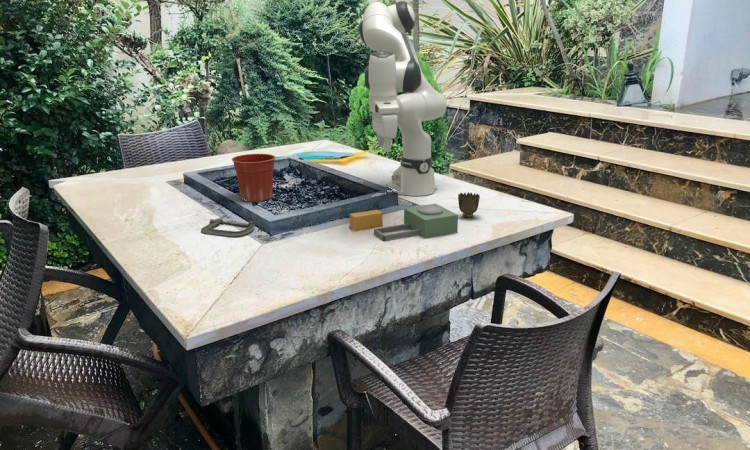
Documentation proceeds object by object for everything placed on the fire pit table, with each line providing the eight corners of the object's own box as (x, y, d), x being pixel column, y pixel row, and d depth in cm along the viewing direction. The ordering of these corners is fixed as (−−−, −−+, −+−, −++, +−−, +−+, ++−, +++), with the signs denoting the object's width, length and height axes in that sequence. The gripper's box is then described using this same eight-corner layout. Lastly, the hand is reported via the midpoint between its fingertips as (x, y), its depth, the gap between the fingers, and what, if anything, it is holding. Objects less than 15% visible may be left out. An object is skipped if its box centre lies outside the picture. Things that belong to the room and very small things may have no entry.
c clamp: (188, 232, 189) (188, 224, 188) (224, 218, 204) (223, 210, 203) (237, 242, 180) (236, 233, 180) (270, 226, 195) (270, 218, 194)
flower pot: (262, 190, 236) (259, 151, 231) (286, 197, 225) (284, 157, 220) (227, 198, 225) (223, 158, 220) (250, 206, 214) (247, 164, 209)
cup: (478, 221, 196) (479, 198, 193) (456, 219, 197) (457, 197, 194) (479, 214, 203) (480, 192, 200) (457, 213, 204) (458, 191, 201)
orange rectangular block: (350, 228, 191) (349, 213, 189) (377, 223, 194) (377, 209, 193) (354, 231, 187) (354, 217, 186) (382, 227, 191) (382, 212, 189)
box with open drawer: (369, 231, 187) (369, 210, 185) (435, 220, 197) (435, 200, 195) (388, 244, 175) (388, 222, 173) (457, 232, 185) (458, 211, 182)
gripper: (367, 102, 190) (368, 144, 194) (380, 108, 171) (381, 155, 175) (385, 101, 191) (386, 143, 196) (400, 107, 172) (401, 153, 176)
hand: (384, 148), depth 185 cm, fingers open, 8 cm apart
